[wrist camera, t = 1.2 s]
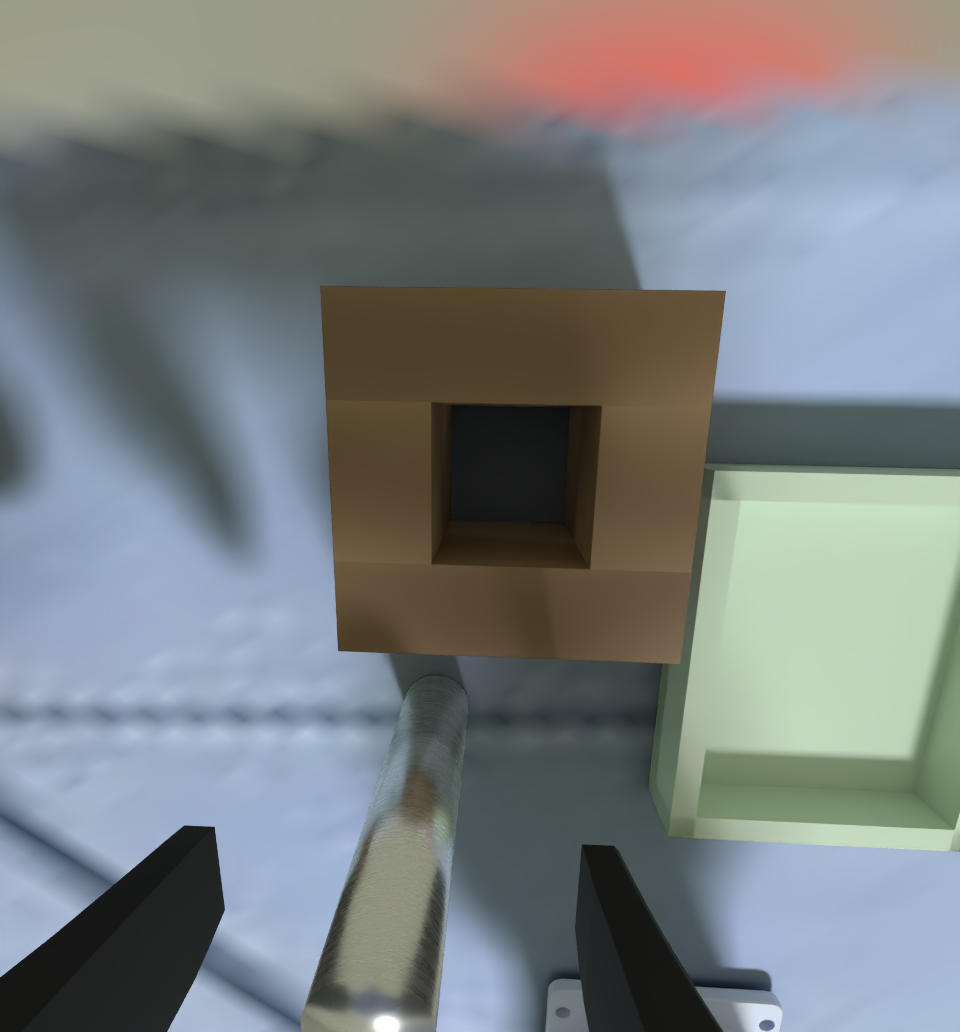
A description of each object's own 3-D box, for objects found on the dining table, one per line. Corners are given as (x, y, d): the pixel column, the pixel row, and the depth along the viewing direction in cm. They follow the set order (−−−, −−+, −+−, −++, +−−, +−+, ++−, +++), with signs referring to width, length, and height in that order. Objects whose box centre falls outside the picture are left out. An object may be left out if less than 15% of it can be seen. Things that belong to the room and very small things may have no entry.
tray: (918, 800, 15) (975, 852, 13) (648, 787, 15) (668, 837, 13) (1004, 469, 13) (1086, 479, 11) (685, 462, 13) (714, 470, 11)
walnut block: (628, 592, 14) (680, 663, 10) (383, 584, 14) (337, 651, 10) (653, 329, 12) (725, 290, 8) (376, 325, 12) (320, 286, 9)
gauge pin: (468, 733, 15) (435, 1083, 7) (405, 730, 15) (304, 1075, 7) (469, 676, 15) (435, 983, 7) (404, 673, 15) (296, 974, 7)
